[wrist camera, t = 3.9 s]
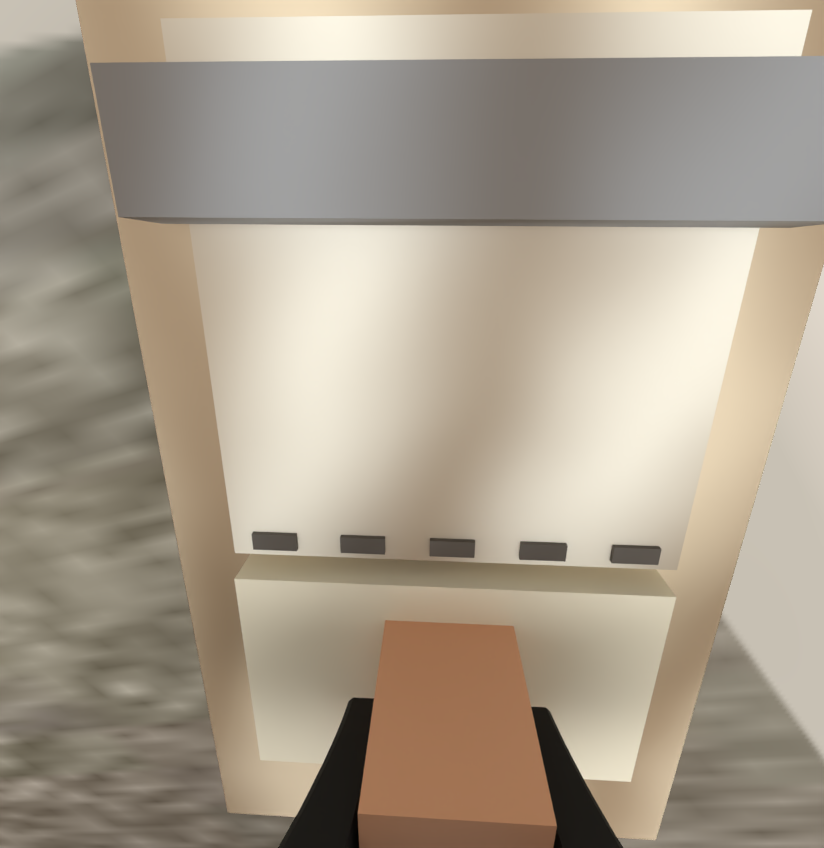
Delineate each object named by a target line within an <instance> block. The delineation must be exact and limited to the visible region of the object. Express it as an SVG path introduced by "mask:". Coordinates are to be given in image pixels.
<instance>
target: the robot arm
mask: <svg viewBox="0 0 824 848" xmlns="http://www.w3.org/2000/svg"><path fill="white" fill-rule="evenodd" d="M373 702H374V698H356V697H353V698H352V699H351V700H349V701H348V704H347V707H346V710H345V713H344V716H343V718H342V721H341V723H340V726H339V728H338V731H337V733H336V735H335V738H334V740H333V742H332V745H331V747H330V749H329V751H328V753H327V756H326V758H325V760H324V762H323V764H322V766H321V768H320V770H319V772H318V774H317V776H316V778H315V780H314V782H313V784H312V786H311V788H310V790H309V792H308V794H307V796H306V798H305V800H304V802H303V804H302V806H301V808H300V810H299V812H298V813H297V815H296V817H295V819H294V821H293V822H292V824H291V826H290V828H289V829H288V831H287V833H286V835H285V837H284V838H283V840H282V842H281V844H280V846H279V847H278V848H359V833H358V808H359V801H360V794H361V787H362V780H363V773H364V766H365V759H366V752H367V745H368V738H369V731H370V724H371V716H372V709H373ZM531 708H532V713H533V718H534V722H535V727H536V731H537V736H538V741H539V745H540V750H541V755H542V759H543V764H544V768H545V773H546V778H547V782H548V787H549V792H550V796H551V801H552V805H553V810H554V815H555V819H556V824H557V829H556V835H555V841H554V846H553V848H623V847H622V845H621V843H620V842H619V840H618V838H617V837H616V835H615V833H614V832H613V830H612V828H611V827H610V825H609V823H608V821H607V820H606V818H605V816H604V814H603V813H602V811H601V809H600V807H599V806H598V804H597V802H596V800H595V799H594V797H593V795H592V793H591V792H590V790H589V788H588V786H587V784H586V782H585V781H584V779H583V777H582V775H581V773H580V771H579V769H578V767H577V766H576V764H575V762H574V760H573V758H572V756H571V754H570V752H569V750H568V748H567V746H566V744H565V742H564V740H563V738H562V736H561V734H560V732H559V730H558V728H557V725H556V723H555V721H554V719H553V717H552V714H551V712H550V711H549V710H548V709H547V708H546V707H531Z"/></svg>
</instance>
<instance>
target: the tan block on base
mask: <svg viewBox="0 0 824 848" xmlns="http://www.w3.org/2000/svg"><path fill="white" fill-rule="evenodd" d="M234 581H235V587H236V594H237V601H238V608H239V615H240V622H241V629H242V636H243V643H244V650H245V657H246V664H247V671H248V678H249V685H250V692H251V699H252V706H253V713H254V720H255V727H256V734H257V741H258V748H259V755H260V760H265V761H282V762H299V763H317V764H323V762H324V760H325V758H326V756H327V753H328V751H329V749H330V747H331V745H332V742H333V740H334V738H335V735H336V733H337V731H338V728H339V726H340V723H341V721H342V718H343V716H344V713H345V710H346V707H347V704H348V701H349V700H351V699H352V698H353V697H356V698H374V702H373V709H372V716H371V724H370V731H369V738H368V745H367V752H366V759H365V766H364V773H363V780H362V787H361V794H360V801H359V808H358V833H359V848H553V846H554V841H555V835H556V829H557V824H556V819H555V815H554V810H553V805H552V801H551V796H550V792H549V787H548V782H547V778H546V773H545V768H544V764H543V759H542V755H541V750H540V745H539V741H538V736H537V731H536V727H535V722H534V718H533V713H532V708H531V707H546V708H547V709H548V710H549V711H550V712H551V714H552V717H553V719H554V721H555V723H556V725H557V728H558V730H559V732H560V734H561V736H562V738H563V740H564V742H565V744H566V746H567V748H568V750H569V752H570V754H571V756H572V758H573V760H574V762H575V764H576V766H577V767H578V769H579V771H580V773H581V775H582V777H583V779H589V780H607V781H624V782H631V779H632V775H633V771H634V767H635V763H636V759H637V755H638V750H639V746H640V742H641V738H642V734H643V730H644V726H645V722H646V718H647V714H648V710H649V706H650V702H651V698H652V694H653V690H654V686H655V682H656V678H657V674H658V669H659V665H660V661H661V657H662V653H663V649H664V645H665V641H666V637H667V633H668V629H669V625H670V621H671V617H672V613H673V609H674V605H675V601H676V596H675V595H674V593H673V592H672V590H671V589H670V588H669V586H668V585H667V584H666V582H665V581H664V579H663V578H662V577H661V575H660V574H659V573H658V571H657V570H656V569H633V568H608V567H582V566H556V565H530V564H504V563H478V562H452V561H426V560H400V559H375V558H349V557H323V556H297V555H271V554H250V555H249V557H248V558H247V560H246V561H245V563H244V565H243V566H242V568H241V569H240V571H239V572H238V574H237V575H236V577H235V579H234Z"/></svg>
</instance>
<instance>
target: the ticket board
mask: <svg viewBox="0 0 824 848" xmlns="http://www.w3.org/2000/svg"><path fill="white" fill-rule="evenodd" d="M76 5H77V10H78V15H79V21H80V26H81V32H82V37H83V42H84V48H85V53H86V58H87V64H88V69H89V74H90V80H91V85H92V90H93V96H94V101H95V106H96V112H97V117H98V123H99V128H100V133H101V139H102V144H103V149H104V155H105V160H106V165H107V171H108V176H109V181H110V187H111V192H112V197H113V203H114V208H115V213H116V219H117V224H118V229H119V235H120V240H121V245H122V251H123V256H124V261H125V267H126V272H127V277H128V283H129V288H130V293H131V299H132V304H133V309H134V315H135V320H136V325H137V331H138V336H139V341H140V347H141V352H142V357H143V363H144V368H145V373H146V379H147V384H148V389H149V395H150V400H151V405H152V411H153V416H154V421H155V427H156V432H157V437H158V443H159V448H160V453H161V459H162V464H163V469H164V475H165V480H166V485H167V491H168V496H169V501H170V507H171V512H172V518H173V523H174V528H175V534H176V539H177V544H178V550H179V555H180V560H181V566H182V571H183V576H184V582H185V587H186V592H187V598H188V603H189V608H190V614H191V619H192V624H193V630H194V635H195V640H196V646H197V651H198V656H199V662H200V667H201V672H202V678H203V683H204V688H205V694H206V699H207V704H208V710H209V715H210V720H211V726H212V731H213V736H214V742H215V747H216V752H217V758H218V763H219V768H220V774H221V779H222V784H223V790H224V795H225V800H226V806H227V811H228V813H240V814H256V815H271V816H287V817H296V815H297V813H298V812H299V810H300V808H301V806H302V804H303V802H304V800H305V798H306V796H307V794H308V792H309V790H310V788H311V786H312V784H313V782H314V780H315V778H316V776H317V774H318V772H319V770H320V768H321V766H322V764H317V763H299V762H282V761H265V760H260V755H259V748H258V741H257V734H256V727H255V720H254V713H253V706H252V699H251V692H250V685H249V678H248V671H247V664H246V657H245V650H244V643H243V636H242V629H241V622H240V615H239V608H238V601H237V594H236V587H235V581H234V579H235V577H236V575H237V574H238V572H239V571H240V569H241V568H242V566H243V565H244V563H245V561H246V560H247V558H248V557H249V555H250V554H271V555H297V556H323V557H349V558H375V559H400V560H426V561H452V562H478V563H504V564H530V565H556V566H582V567H608V568H633V569H656V570H657V571H658V573H659V574H660V575H661V577H662V578H663V579H664V581H665V582H666V584H667V585H668V586H669V588H670V589H671V590H672V592H673V593H674V595H675V596H676V601H675V605H674V609H673V613H672V617H671V621H670V625H669V629H668V633H667V637H666V641H665V645H664V649H663V653H662V657H661V661H660V665H659V669H658V674H657V678H656V682H655V686H654V690H653V694H652V698H651V702H650V706H649V710H648V714H647V718H646V722H645V726H644V730H643V734H642V738H641V742H640V746H639V750H638V755H637V759H636V763H635V767H634V771H633V775H632V779H631V782H624V781H607V780H589V779H584V781H585V782H586V784H587V786H588V788H589V790H590V792H591V793H592V795H593V797H594V799H595V800H596V802H597V804H598V806H599V807H600V809H601V811H602V813H603V814H604V816H605V818H606V820H607V821H608V823H609V825H610V827H611V828H612V830H613V832H614V833H615V835H616V837H617V838H631V839H647V840H656V838H657V834H658V831H659V827H660V824H661V820H662V817H663V814H664V810H665V807H666V803H667V800H668V796H669V793H670V790H671V786H672V783H673V779H674V776H675V772H676V769H677V765H678V762H679V759H680V755H681V752H682V748H683V745H684V741H685V738H686V735H687V731H688V728H689V724H690V721H691V717H692V714H693V711H694V707H695V704H696V700H697V697H698V693H699V690H700V687H701V683H702V680H703V676H704V673H705V669H706V666H707V663H708V659H709V656H710V652H711V649H712V645H713V642H714V639H715V635H716V632H717V628H718V625H719V621H720V618H721V615H722V611H723V608H724V604H725V601H726V597H727V594H728V590H729V587H730V583H731V580H732V577H733V573H734V570H735V567H736V563H737V559H738V556H739V553H740V549H741V546H742V542H743V539H744V536H745V532H746V528H747V525H748V522H749V518H750V515H751V511H752V508H753V505H754V501H755V498H756V494H757V491H758V487H759V484H760V480H761V477H762V474H763V470H764V467H765V464H766V460H767V457H768V453H769V450H770V446H771V443H772V440H773V436H774V433H775V429H776V426H777V422H778V419H779V415H780V412H781V409H782V405H783V402H784V398H785V395H786V392H787V388H788V384H789V381H790V378H791V374H792V371H793V368H794V364H795V361H796V357H797V354H798V350H799V347H800V343H801V340H802V337H803V333H804V330H805V326H806V323H807V319H808V316H809V313H810V309H811V306H812V302H813V299H814V295H815V292H816V289H817V285H818V282H819V278H820V275H821V271H822V268H823V264H824V0H76Z"/></svg>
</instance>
